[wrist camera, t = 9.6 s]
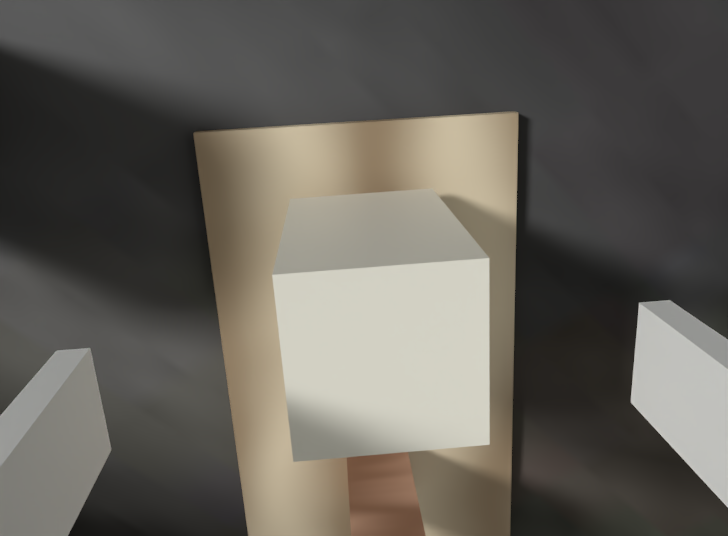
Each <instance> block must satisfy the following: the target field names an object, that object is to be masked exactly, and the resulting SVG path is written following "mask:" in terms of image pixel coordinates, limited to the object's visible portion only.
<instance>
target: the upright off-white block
mask: <svg viewBox="0 0 728 536" xmlns="http://www.w3.org/2000/svg"><path fill="white" fill-rule="evenodd" d="M272 278H273V287H274V296H275V304H276V313H277V322H278V331H279V340H280V349H281V357H282V366H283V375H284V384H285V393H286V402H287V410H288V419H289V428H290V437H291V446H292V455H293V462H299V461H311V460H322V459H333V458H345V457H356V456H367V455H379V454H390V453H401V452H413V451H424V450H435V449H447V448H458V447H469V446H481V445H490V381H489V257H488V256H487V254H486V253H485V252H484V251H483V250H482V248H481V247H480V246H479V245H478V243H477V242H476V241H475V240H474V239H473V237H472V236H471V235H470V234H469V233H468V231H467V230H466V229H465V228H464V226H463V225H462V224H461V223H460V222H459V220H458V219H457V218H456V217H455V215H454V214H453V213H452V212H451V211H450V209H449V208H448V207H447V206H446V204H445V203H444V202H443V201H442V200H441V198H440V197H439V196H438V195H437V194H436V192H435V191H434V190H433V189H432V188H430V189H417V190H403V191H389V192H376V193H362V194H349V195H335V196H321V197H308V198H294V199H290V202H289V206H288V210H287V215H286V219H285V223H284V227H283V231H282V236H281V240H280V244H279V248H278V252H277V257H276V261H275V265H274V269H273V273H272Z"/></svg>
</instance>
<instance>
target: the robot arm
mask: <svg viewBox="0 0 728 536" xmlns="http://www.w3.org/2000/svg"><path fill="white" fill-rule="evenodd" d="M631 403H632V404H633V405H634V407H635V408H636V409H637V410H638V411H639V412H640V413H641V414H642V415H643V416H644V417H645V418H646V420H647V421H648V422H649V423H650V424H651V425H652V426H653V427H654V428H655V429H656V430H657V431H658V433H659V434H660V435H661V436H662V437H663V438H664V439H665V440H666V441H667V442H668V443H669V444H670V446H671V447H672V448H673V449H674V450H675V451H676V452H677V453H678V454H679V455H680V456H681V457H682V459H683V460H684V461H685V462H686V463H687V464H688V465H689V466H690V467H691V468H692V469H693V470H694V472H695V473H696V474H697V475H698V476H699V477H700V478H701V479H702V480H703V481H704V482H705V483H706V485H707V486H708V487H709V488H710V489H711V490H712V491H713V492H714V493H715V494H716V495H717V496H718V498H719V499H720V500H721V501H722V502H723V503H724V504H725V505H726V506H727V507H728V340H727V339H726V338H724V337H723V336H722V335H720V334H719V333H717V332H716V331H714V330H713V329H711V328H710V327H708V326H707V325H705V324H704V323H702V322H701V321H700V320H698V319H697V318H695V317H694V316H692V315H691V314H689V313H688V312H686V311H685V310H683V309H682V308H680V307H679V306H677V305H676V304H675V303H673V302H672V301H670V300H665V301H653V302H640V303H639V310H638V322H637V333H636V345H635V356H634V368H633V380H632V391H631ZM110 452H111V445H110V440H109V435H108V431H107V426H106V421H105V416H104V412H103V407H102V402H101V397H100V392H99V388H98V383H97V378H96V373H95V369H94V364H93V359H92V354H91V349H90V348H83V349H71V350H59V351H56V352H55V353H54V354H53V355H52V356H51V358H50V359H49V360H48V361H47V362H46V363H45V365H44V366H43V367H42V368H41V369H40V370H39V371H38V373H37V374H36V375H35V376H34V377H33V378H32V380H31V381H30V382H29V383H28V384H27V385H26V387H25V388H24V389H23V390H22V391H21V392H20V393H19V395H18V396H17V397H16V398H15V399H14V400H13V402H12V403H11V404H10V405H9V406H8V407H7V409H6V410H5V411H4V412H3V413H2V414H1V416H0V536H68V535H69V533H70V531H71V529H72V527H73V525H74V523H75V521H76V519H77V517H78V515H79V513H80V511H81V509H82V507H83V505H84V503H85V501H86V499H87V497H88V495H89V493H90V491H91V489H92V487H93V485H94V483H95V481H96V479H97V477H98V475H99V473H100V471H101V469H102V467H103V466H104V464H105V462H106V460H107V458H108V456H109V454H110Z"/></svg>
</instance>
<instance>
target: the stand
mask: <svg viewBox="0 0 728 536" xmlns="http://www.w3.org/2000/svg"><path fill="white" fill-rule="evenodd" d="M193 136H194V143H195V150H196V158H197V165H198V172H199V179H200V187H201V194H202V201H203V209H204V216H205V223H206V230H207V238H208V245H209V252H210V260H211V267H212V274H213V282H214V289H215V296H216V303H217V311H218V318H219V325H220V333H221V340H222V347H223V355H224V362H225V369H226V376H227V384H228V391H229V398H230V406H231V413H232V420H233V427H234V435H235V442H236V449H237V457H238V464H239V471H240V479H241V486H242V493H243V500H244V508H245V515H246V522H247V530H248V536H510V520H511V469H512V419H513V368H514V317H515V266H516V215H517V164H518V112H514V111H513V112H497V113H481V114H465V115H449V116H433V117H417V118H401V119H385V120H369V121H353V122H337V123H321V124H305V125H289V126H273V127H257V128H241V129H225V130H209V131H196V132H194V133H193ZM430 188H432V189H433V190H434V191H435V192H436V194H437V195H438V196H439V197H440V198H441V200H442V201H443V202H444V203H445V204H446V206H447V207H448V208H449V209H450V211H451V212H452V213H453V214H454V215H455V217H456V218H457V219H458V220H459V222H460V223H461V224H462V225H463V226H464V228H465V229H466V230H467V231H468V233H469V234H470V235H471V236H472V237H473V239H474V240H475V241H476V242H477V243H478V245H479V246H480V247H481V248H482V250H483V251H484V252H485V253H486V254H487V256H488V257H489V381H490V445H481V446H469V447H458V448H447V449H435V450H424V451H413V452H401V453H390V454H379V455H367V456H356V457H345V458H333V459H322V460H311V461H299V462H293V455H292V446H291V437H290V428H289V419H288V410H287V402H286V393H285V384H284V375H283V366H282V357H281V349H280V340H279V331H278V322H277V313H276V304H275V296H274V287H273V278H272V273H273V269H274V265H275V261H276V257H277V252H278V248H279V244H280V240H281V236H282V231H283V227H284V223H285V219H286V215H287V210H288V206H289V202H290V199H294V198H308V197H321V196H335V195H349V194H362V193H376V192H389V191H403V190H417V189H430Z"/></svg>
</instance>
